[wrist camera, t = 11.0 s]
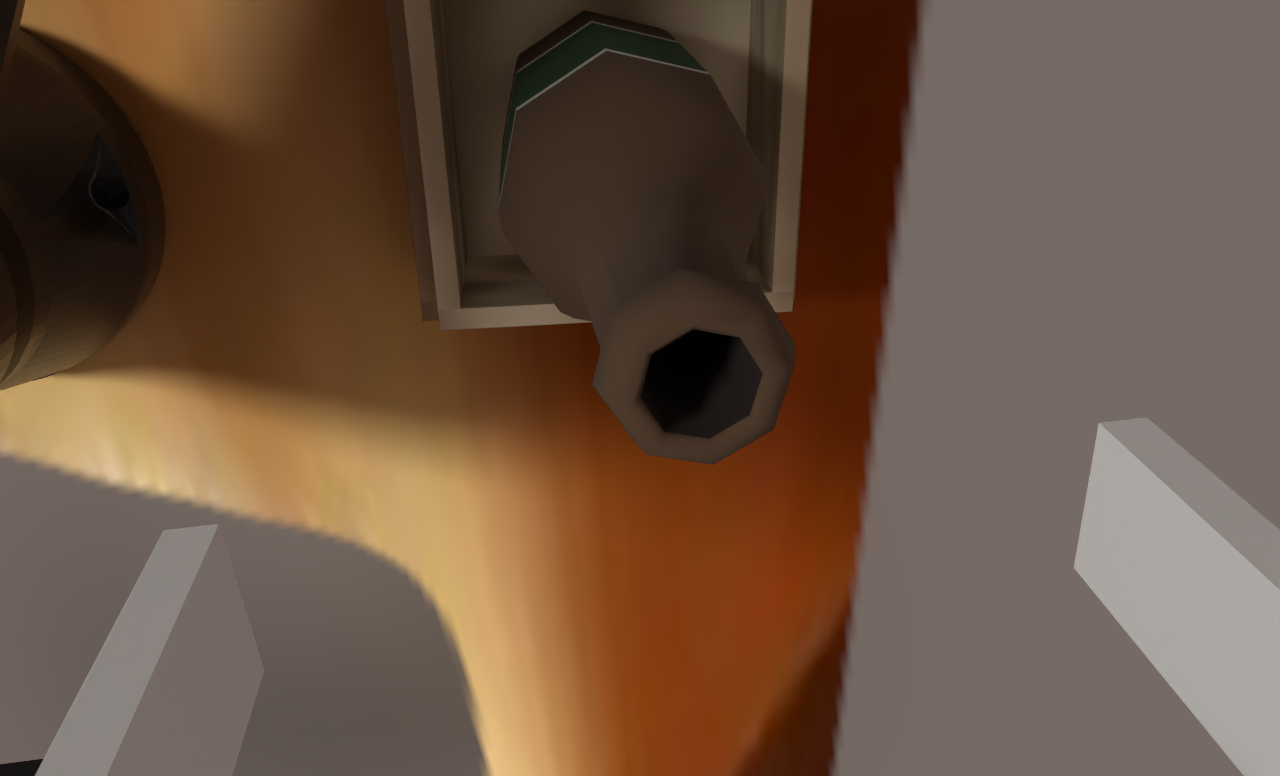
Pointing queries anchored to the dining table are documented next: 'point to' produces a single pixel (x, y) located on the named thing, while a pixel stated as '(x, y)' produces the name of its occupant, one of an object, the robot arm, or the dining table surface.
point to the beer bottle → (646, 232)
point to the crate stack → (476, 116)
